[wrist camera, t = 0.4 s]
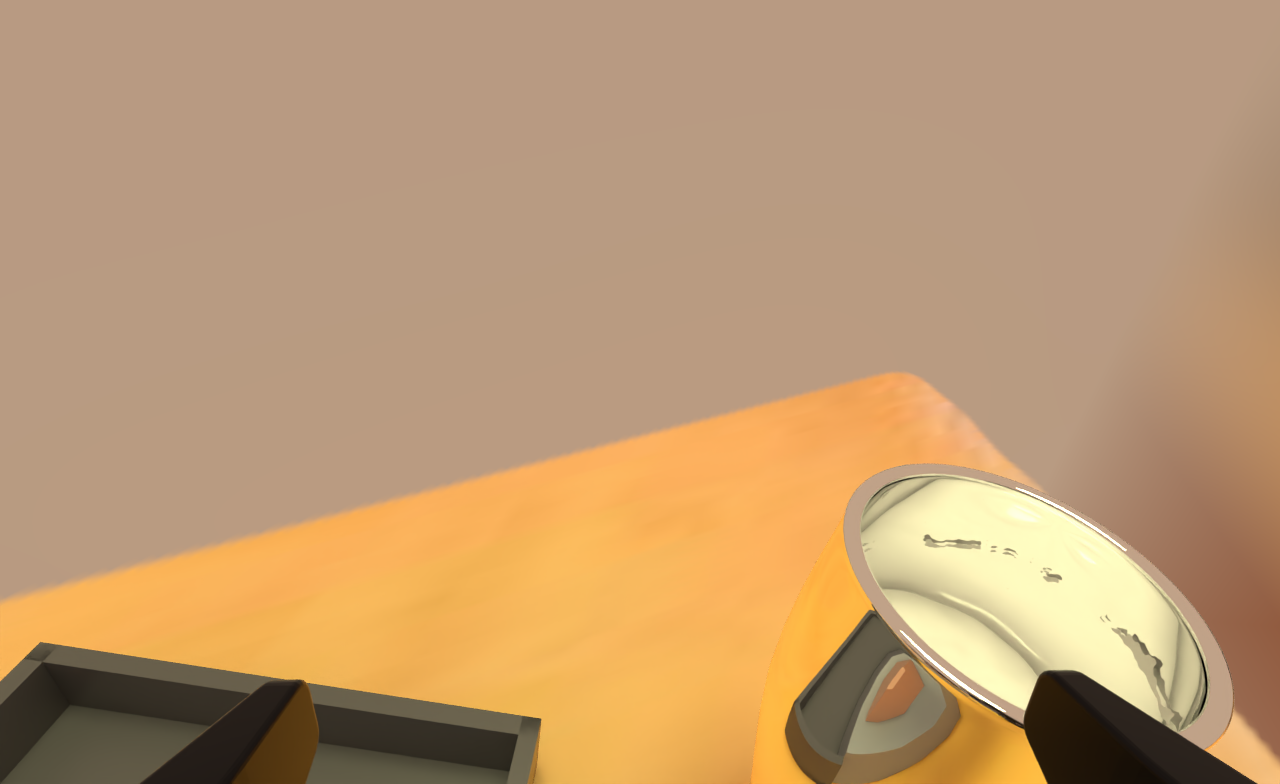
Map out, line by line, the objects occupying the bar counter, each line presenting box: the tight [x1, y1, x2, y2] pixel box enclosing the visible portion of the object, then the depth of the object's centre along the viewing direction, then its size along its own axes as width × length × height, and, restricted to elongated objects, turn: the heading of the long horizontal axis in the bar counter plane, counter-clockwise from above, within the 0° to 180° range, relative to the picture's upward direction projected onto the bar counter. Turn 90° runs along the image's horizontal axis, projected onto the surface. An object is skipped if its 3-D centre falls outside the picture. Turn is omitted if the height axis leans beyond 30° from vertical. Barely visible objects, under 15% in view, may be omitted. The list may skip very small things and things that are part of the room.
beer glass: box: [750, 464, 1234, 784], centre depth 16 cm, size 7×7×15 cm
